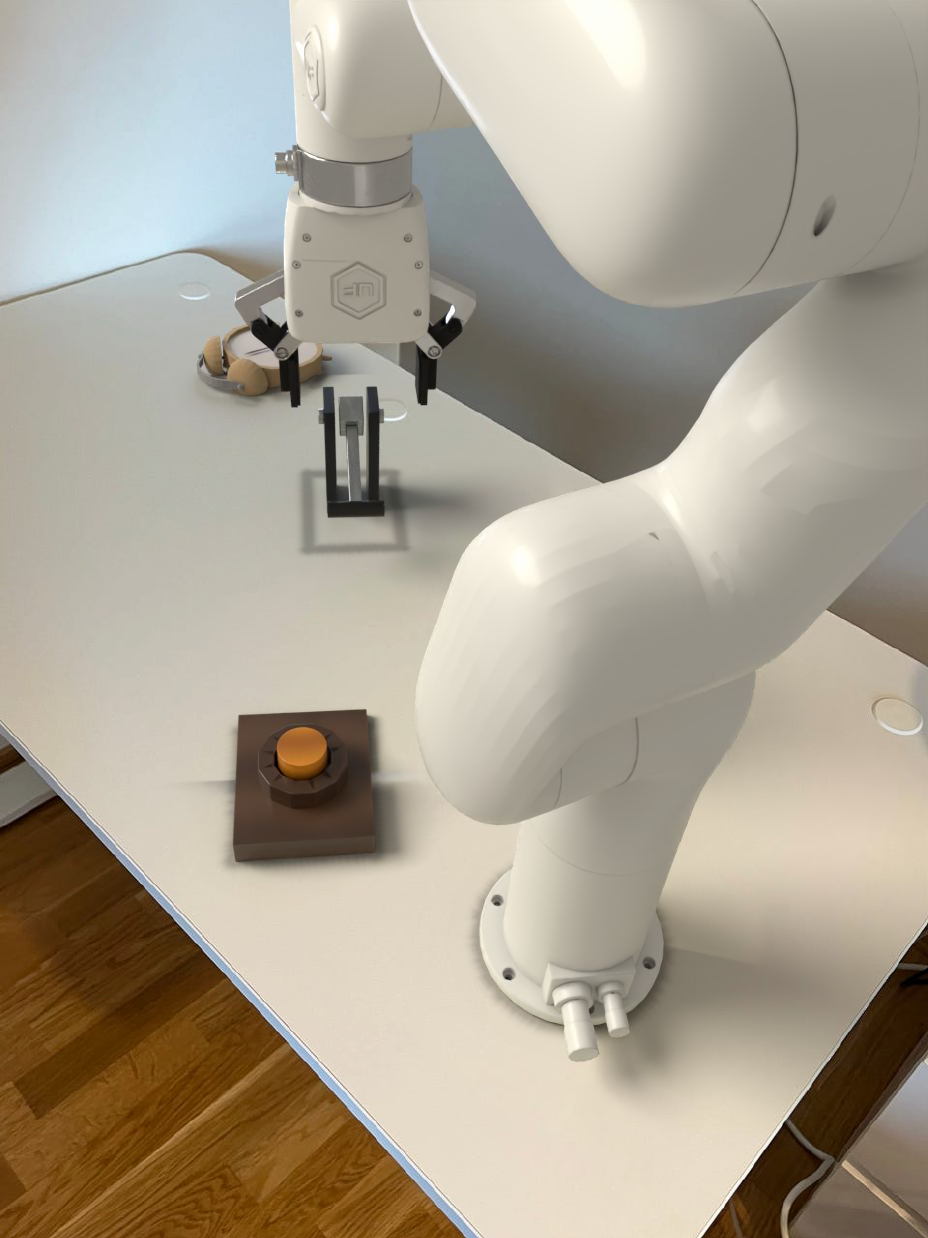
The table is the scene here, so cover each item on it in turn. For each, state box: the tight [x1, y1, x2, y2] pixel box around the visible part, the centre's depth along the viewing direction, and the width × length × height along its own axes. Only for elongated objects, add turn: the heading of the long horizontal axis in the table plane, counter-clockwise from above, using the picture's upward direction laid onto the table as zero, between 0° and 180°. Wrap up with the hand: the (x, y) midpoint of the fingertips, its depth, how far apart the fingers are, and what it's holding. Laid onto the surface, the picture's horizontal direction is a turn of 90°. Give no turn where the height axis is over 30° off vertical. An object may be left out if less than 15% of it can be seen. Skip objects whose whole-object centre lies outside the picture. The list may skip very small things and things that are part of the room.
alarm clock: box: [196, 321, 333, 397], centre depth 121 cm, size 11×5×15 cm
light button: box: [277, 727, 327, 780], centre depth 78 cm, size 4×4×2 cm
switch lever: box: [326, 395, 386, 519], centre depth 96 cm, size 12×5×2 cm, turn 7°
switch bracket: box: [317, 385, 385, 502], centre depth 102 cm, size 12×9×13 cm
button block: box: [232, 708, 376, 862], centre depth 80 cm, size 12×10×4 cm
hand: (358, 397), depth 82 cm, fingers open, 9 cm apart
